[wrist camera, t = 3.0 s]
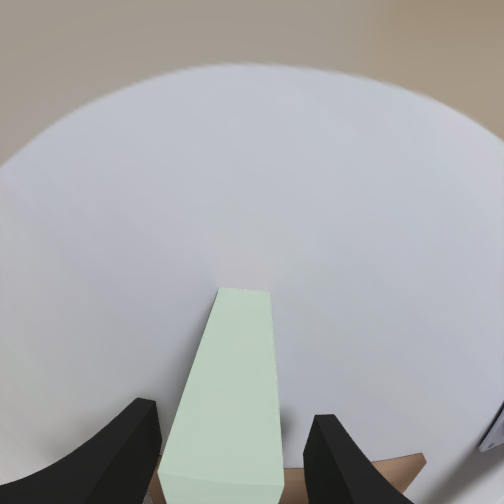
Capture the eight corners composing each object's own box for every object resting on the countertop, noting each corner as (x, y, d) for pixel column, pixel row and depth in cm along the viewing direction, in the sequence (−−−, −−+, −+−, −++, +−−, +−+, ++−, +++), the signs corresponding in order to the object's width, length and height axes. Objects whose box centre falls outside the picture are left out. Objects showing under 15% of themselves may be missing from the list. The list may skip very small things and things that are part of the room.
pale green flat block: (269, 291, 10) (284, 485, 3) (251, 449, 12) (245, 583, 5) (219, 286, 10) (157, 471, 3) (216, 446, 12) (196, 578, 5)
